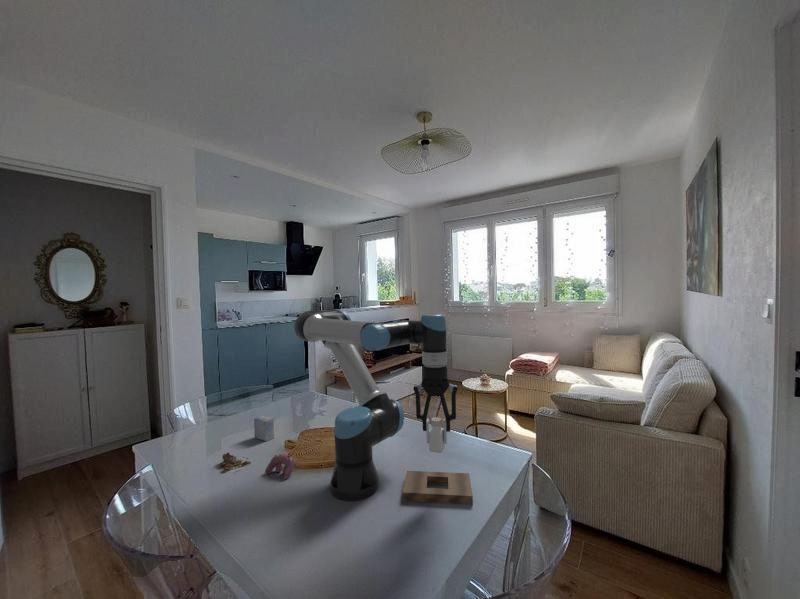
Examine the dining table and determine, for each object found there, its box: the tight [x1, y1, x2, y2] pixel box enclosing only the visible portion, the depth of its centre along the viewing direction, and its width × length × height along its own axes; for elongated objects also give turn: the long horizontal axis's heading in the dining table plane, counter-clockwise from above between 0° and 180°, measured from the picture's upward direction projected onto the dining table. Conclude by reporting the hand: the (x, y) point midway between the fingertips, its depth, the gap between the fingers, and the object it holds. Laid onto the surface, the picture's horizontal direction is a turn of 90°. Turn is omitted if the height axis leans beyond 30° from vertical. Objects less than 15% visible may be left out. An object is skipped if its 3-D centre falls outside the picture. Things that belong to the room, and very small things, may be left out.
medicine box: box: [253, 415, 275, 442], centre depth 141 cm, size 8×4×9 cm, turn 58°
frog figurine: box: [218, 452, 252, 474], centre depth 118 cm, size 12×12×4 cm
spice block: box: [402, 470, 474, 506], centre depth 99 cm, size 20×12×2 cm, turn 83°
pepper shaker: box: [428, 416, 445, 454], centre depth 99 cm, size 4×4×10 cm
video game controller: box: [264, 453, 297, 480], centre depth 112 cm, size 10×5×7 cm, turn 66°
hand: (436, 441), depth 99 cm, fingers closed on pepper shaker, 4 cm apart
